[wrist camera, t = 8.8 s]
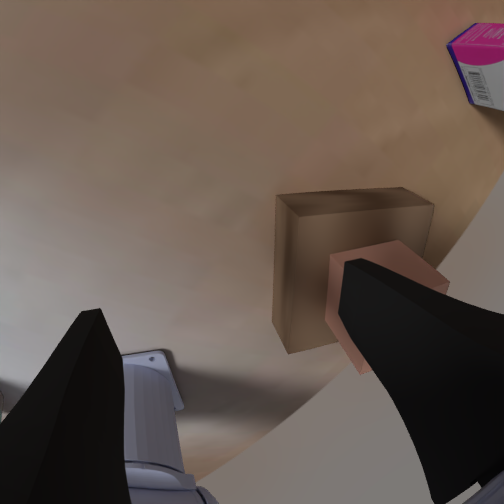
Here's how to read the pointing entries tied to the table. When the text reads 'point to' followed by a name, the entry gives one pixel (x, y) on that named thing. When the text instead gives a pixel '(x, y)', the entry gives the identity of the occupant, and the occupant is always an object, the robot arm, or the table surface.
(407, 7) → the table surface
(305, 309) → the walnut block
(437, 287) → the terracotta cube
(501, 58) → the supplement box
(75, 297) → the table surface
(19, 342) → the table surface
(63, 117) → the table surface
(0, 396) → the coffee cup
